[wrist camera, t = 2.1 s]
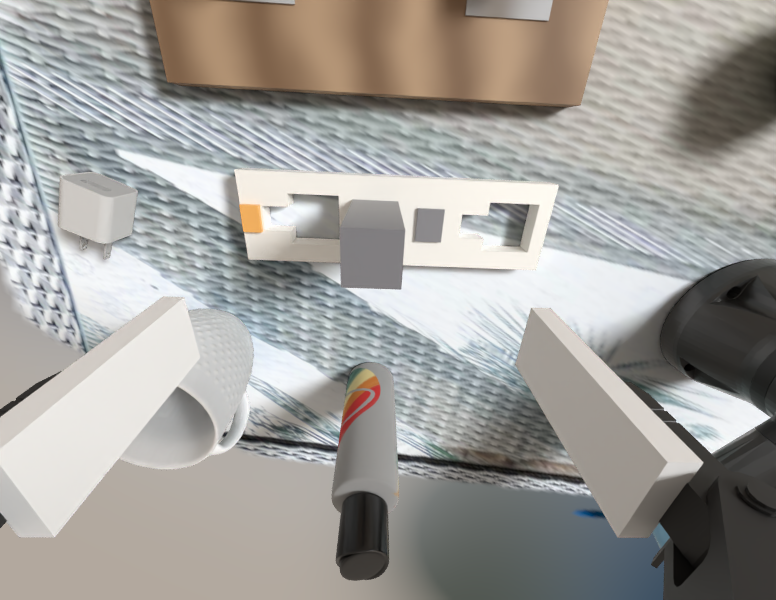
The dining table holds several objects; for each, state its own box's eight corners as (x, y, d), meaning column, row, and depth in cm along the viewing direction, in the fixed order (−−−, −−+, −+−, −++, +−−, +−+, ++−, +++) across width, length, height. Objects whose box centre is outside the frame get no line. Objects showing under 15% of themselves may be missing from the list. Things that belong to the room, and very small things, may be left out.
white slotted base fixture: (548, 182, 30) (640, 206, 19) (527, 263, 34) (595, 321, 23) (243, 167, 29) (162, 185, 18) (255, 252, 33) (193, 308, 22)
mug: (298, 383, 40) (264, 484, 29) (219, 403, 42) (155, 507, 30) (241, 278, 34) (167, 353, 22) (149, 305, 35) (33, 389, 23)
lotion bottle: (341, 367, 39) (307, 559, 21) (385, 355, 39) (388, 543, 21) (357, 401, 42) (339, 597, 24) (399, 390, 41) (412, 584, 23)
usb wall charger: (141, 191, 30) (109, 199, 26) (132, 255, 33) (101, 270, 29) (94, 171, 29) (54, 176, 25) (89, 238, 32) (51, 251, 28)
